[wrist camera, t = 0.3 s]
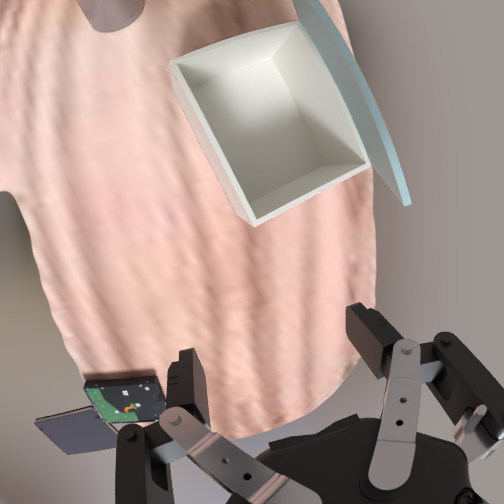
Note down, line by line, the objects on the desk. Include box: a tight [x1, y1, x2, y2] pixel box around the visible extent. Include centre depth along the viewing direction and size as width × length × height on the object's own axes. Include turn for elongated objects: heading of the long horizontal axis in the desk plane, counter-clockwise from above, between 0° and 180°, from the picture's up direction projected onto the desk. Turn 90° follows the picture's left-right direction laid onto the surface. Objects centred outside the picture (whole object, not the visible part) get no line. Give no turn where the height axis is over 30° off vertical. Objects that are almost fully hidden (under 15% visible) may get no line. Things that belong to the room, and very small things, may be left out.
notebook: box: [34, 405, 119, 455], centre depth 44 cm, size 13×2×21 cm
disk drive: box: [83, 376, 166, 423], centre depth 44 cm, size 10×3×15 cm
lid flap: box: [292, 0, 411, 206], centre depth 20 cm, size 20×16×1 cm
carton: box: [169, 21, 371, 227], centre depth 33 cm, size 20×16×12 cm
